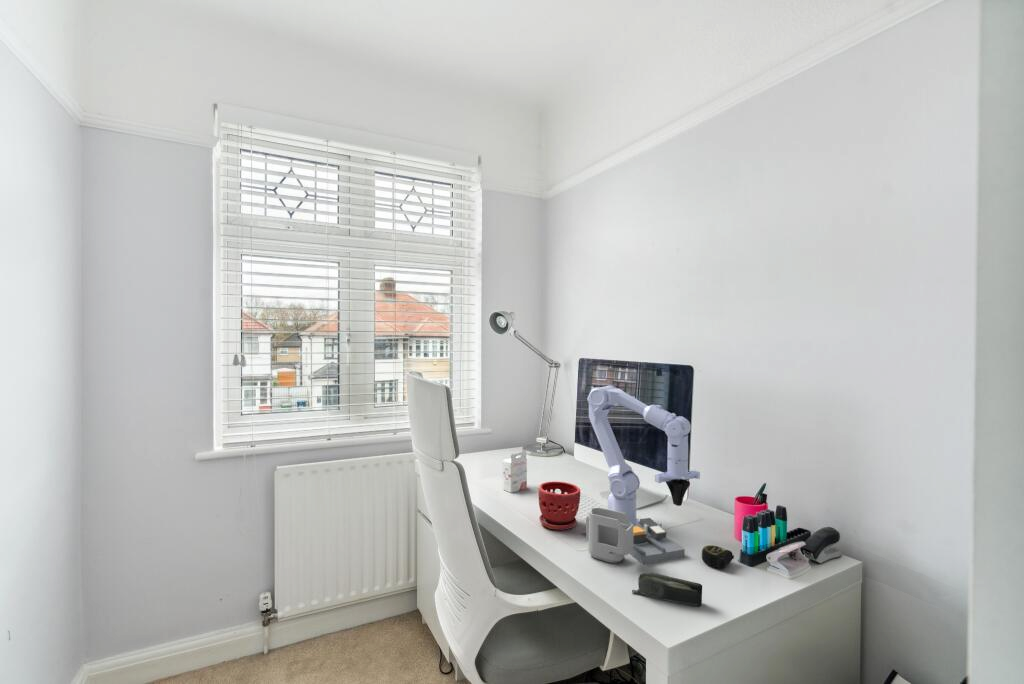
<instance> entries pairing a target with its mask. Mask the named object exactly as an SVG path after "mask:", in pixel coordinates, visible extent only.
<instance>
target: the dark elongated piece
mask: <svg viewBox="0 0 1024 684" xmlns="http://www.w3.org/2000/svg"><path fill="white" fill-rule="evenodd" d="M637 583H638V589H637V590H635V589H632V590H631V592H632V594H636V595H643V596H645V597H646V596H647V597H651V598H654V599H659V600H662V601H663V600H664V601H668V602H672V603H674V604H675V603H676V604H680V605H684V606H687V607H688V606H689V607H694V608H697V607H700V606H702V603H703V584H701V583H699V582H695V581H690V580H687V579H682V578H678V577H674V576H668V575H665V574H663V573H658V572H641V573H640V574H639V576H638V581H637Z"/></svg>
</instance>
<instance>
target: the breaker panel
mask: <svg viewBox="0 0 1024 684" xmlns="http://www.w3.org/2000/svg"><path fill="white" fill-rule="evenodd" d="M656 524H657V525H659V526H660V527H661V528H662V529H663V526H662V522H660V521H657V523H656ZM639 527H640V528H641V529H643V530H644V531H645V534H646V543H642V544H634V543H633V550H632V551H631V552H630V553H629V554H628V555H630V556H632V557H633V558H634V559H636V561H638V562H639V563H640V564H641V565H645V564H651V563H657V562H663V561H667V560H673V559H680V558H685V556H686V555H685V552H686V551H685V549H684V548H683V547H682V546H680V545H679V544H677V543H676V542H674V541H672V540H671V539H669V538H667V537H666V538H660V539H655V538H654V537H653V536H652V535H651V534H650V533H649V532H648V525H646V524H644V528H643V527H642V526H639Z"/></svg>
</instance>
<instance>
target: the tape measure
mask: <svg viewBox="0 0 1024 684" xmlns="http://www.w3.org/2000/svg"><path fill="white" fill-rule="evenodd" d="M733 554H734V553H733V552H732V551H731V550H730V549H725V548H723V547H721V546H718V545H711V544H710V545H705V546H703V548H702V549H701V560H702V561H703V562H704V563H705V564H706V565H708V566H710V567H714V568H719V569H725V568H726V567H727V565H728V564H730V563H731V562H732V561H733V560H734V559H735V555H733Z"/></svg>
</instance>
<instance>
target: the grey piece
mask: <svg viewBox="0 0 1024 684" xmlns="http://www.w3.org/2000/svg"><path fill="white" fill-rule="evenodd" d="M585 520H586V521H585V522H586V524H585V527H586V528H585V529H586V530H585V531H586V532H585V538H586V541H587V542H588V544H587V545H588V548H587V549H588V550H587V551H588V553H589V554H590V556H591V557H593V558H595V559H597V560H601V561H604V562H606V563H611V564H617V563H620V562H621V561H622V560H624V559H625V557H626V556H628V555H630V554H629V553H630V552H631V551H632V550H633V524H632V523H631V522H630V520H629V518H628V516H627V515H626V513H622V512H618V511H613V510H609V509H608V508H603V507H591V511H590V510H588V515H587V516H586V518H585ZM621 523H623V524H621ZM625 524H628V525H625Z"/></svg>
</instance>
